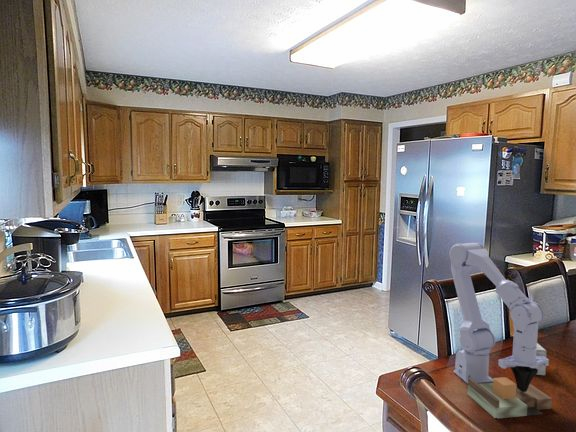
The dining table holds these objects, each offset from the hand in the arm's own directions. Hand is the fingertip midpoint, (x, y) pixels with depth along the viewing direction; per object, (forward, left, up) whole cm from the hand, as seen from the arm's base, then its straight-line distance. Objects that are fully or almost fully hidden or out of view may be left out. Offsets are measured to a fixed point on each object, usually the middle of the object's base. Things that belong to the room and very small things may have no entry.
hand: (521, 389), depth 108 cm
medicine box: (+19, +17, -4) cm, 26 cm away
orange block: (-6, 0, -1) cm, 6 cm away
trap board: (-3, 0, -4) cm, 5 cm away
